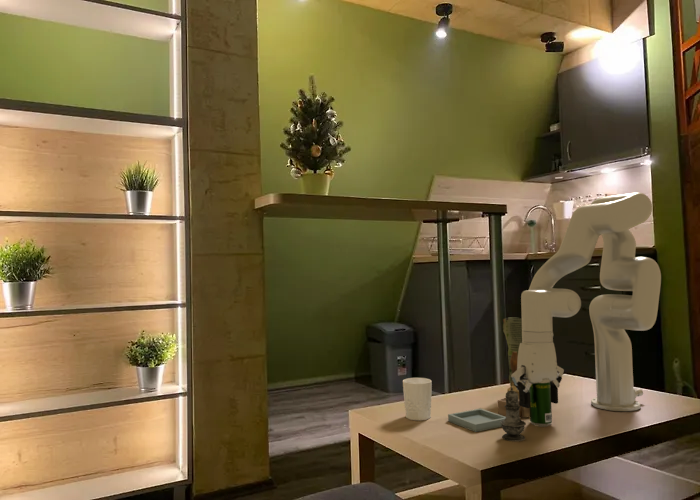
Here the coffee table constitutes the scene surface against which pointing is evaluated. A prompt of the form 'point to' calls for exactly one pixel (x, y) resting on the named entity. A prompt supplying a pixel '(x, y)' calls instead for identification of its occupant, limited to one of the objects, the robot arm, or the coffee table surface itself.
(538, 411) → the green soda can
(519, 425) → the grey turned upright piece
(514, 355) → the hand bell
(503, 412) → the walnut cube
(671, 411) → the coffee table surface
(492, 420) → the tray
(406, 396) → the white cup
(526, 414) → the light oak block
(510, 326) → the pouch
